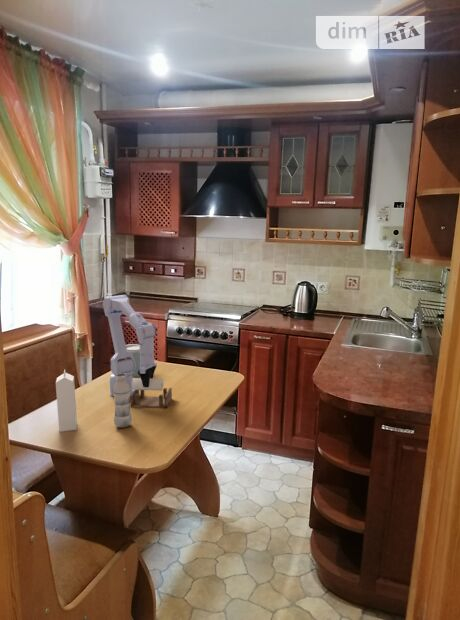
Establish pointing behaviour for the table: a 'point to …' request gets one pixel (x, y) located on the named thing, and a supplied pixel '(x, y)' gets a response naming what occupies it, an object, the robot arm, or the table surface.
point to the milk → (66, 402)
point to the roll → (153, 384)
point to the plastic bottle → (122, 402)
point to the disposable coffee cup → (134, 356)
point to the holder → (151, 399)
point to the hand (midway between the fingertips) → (147, 384)
